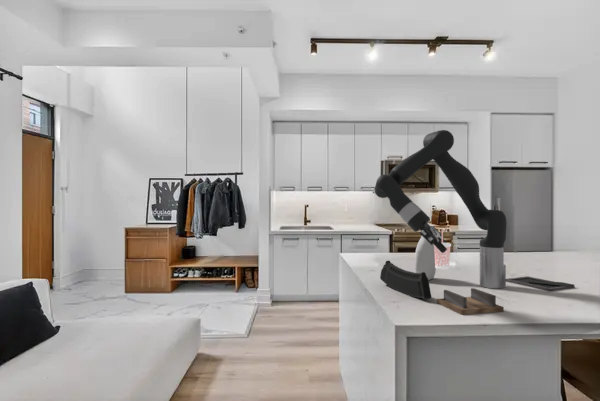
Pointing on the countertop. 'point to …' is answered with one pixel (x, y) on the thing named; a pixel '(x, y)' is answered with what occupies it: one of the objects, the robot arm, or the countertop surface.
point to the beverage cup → (442, 256)
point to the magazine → (406, 281)
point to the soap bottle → (425, 258)
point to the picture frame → (540, 283)
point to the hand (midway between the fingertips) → (446, 250)
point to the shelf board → (470, 302)
